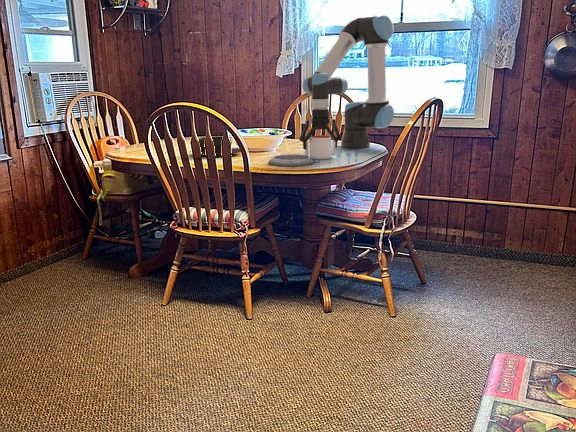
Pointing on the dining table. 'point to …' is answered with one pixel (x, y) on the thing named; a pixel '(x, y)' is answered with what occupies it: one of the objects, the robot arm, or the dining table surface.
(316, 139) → the cup
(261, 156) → the dining table surface
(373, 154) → the dining table surface
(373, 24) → the robot arm
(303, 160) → the ring collar
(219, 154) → the casserole
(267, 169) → the dining table surface
